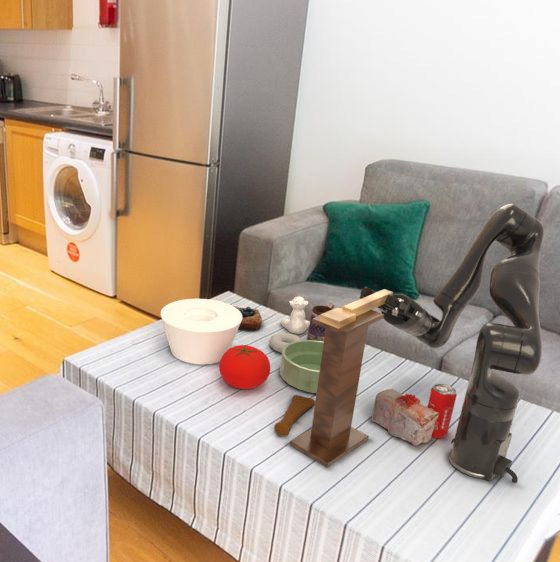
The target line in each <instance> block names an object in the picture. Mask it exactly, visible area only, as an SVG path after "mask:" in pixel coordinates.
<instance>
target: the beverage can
mask: <svg viewBox="0 0 560 562" xmlns="http://www.w3.org/2000/svg"><path fill="white" fill-rule="evenodd" d="M456 399H457V390H456V389H455V388H454V387H453V386H452V385H451V386H450V385H449V384H444V383H436V384H433V386H432V388H431V390H430V395H429V398H428V403H427V407H428V408H430V409H431V410H433V411H435V412H438V413H439V417H438V419H437V421H436V422H435V426H434V429H433V433H432V437H431V438H433V439H438V440H439V439H444V438H445V436H446V435H447V434H448V432H449V428H450V424H451V419H452V416H453V412H454V407H455V404H456Z"/></svg>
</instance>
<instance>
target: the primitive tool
mask: <svg viewBox="0 0 560 562" xmlns="http://www.w3.org/2000/svg"><path fill="white" fill-rule="evenodd" d="M315 401H316V400H314V398H311V397H304V396H301V395H297V394H295V395H293V397H292V400H291V403H290V405H289V406H288V408H287V410H285V412H284V415H283V417H282V419H281V420H280V421H277V422H276V423H275V424H274V427H273V429H274V432H275V433H276V434H277V435H278V436H280V437H286V436H288V435H289V433H290V428H291V426H292V425H293V424H294V423H296V421H297V419H299V418H300V416H302V415H303V414H304V413H306V411H307V410H308V409H310V408H311V407H313V406H315Z"/></svg>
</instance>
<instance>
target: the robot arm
mask: <svg viewBox="0 0 560 562" xmlns="http://www.w3.org/2000/svg"><path fill="white" fill-rule="evenodd" d="M544 235H545V227H544V224H543V223H542V222H541V220H539V219H538V218H536V217H535V216H534V215H532V214H530V213H529V212H527V211H526V210H524V209H523V208H521V207H520V206H518V205H517V204H514V203H508V204H504V205H502V206H501V207H499V208H498V209H497V210H496V211H495V212H493V214H491V215H490V217H489V218H488V219H487V221H486V222H485V223H484V225H483V226H482V228H481V230H480V231H479V233H478V235H477V236H476V238H475V240H474V241H473V243H472V244H471V246H470V248H469V250H468V251H467V253H466V254H465V256H464V258H463V260H462V261H461V262H460V265H459V266H458V267H457V269H456V270H455V272H453V274H452V276H451V277H450V278H449V279H448V280H447V282H446V283H445V285H443V287H442V288H440V290H439V291H438V292H437V294H436V295H435V297H434V298H433V304H434V305H435V306H436V307H437V308H438V309H439V310H440V311H441V313H442V316H441V320H440V319H439V318H437V317H436V316H434V315H432V314H431V313H429V312H428V311H427V310H426V309H425V308H424V307H422V306H421V304H420V303H418V302H417V301H415V300H414V299H413V298H411V297H410V296H408V295H406V294H403V293H393V295H390V294H389V295H388V296H387V298H386V300H385V304H383V305H381V306H379V307H377V308H376V309H378V310H379V311H380V313H382V314H384V318H383V320H384V321H385V322H386V323H388V324H390V325H391V326H393V327H395V328H396V329H398V330H400V331H402V332H405V333H407V334H409V335H411V336H413V337H414V338H415V339H417V340H419V341H420V342H421V343H423V345H426V346H427V347H429V348H430V349H439V348H441V347H443V346H444V345H446V343H448V341H449V339H450V337H451V336H452V333H453V330H454V328H455V326H456V323H457V322H458V320H459V318H460V316H461V315H462V313H463V312H464V310H465V309H466V308H467V307H468V305H469V304H470V303H471V302H472V301H473V299H474V298H475V297H476V296H477V294H478V293H479V290H480V288H481V286H482V282H483V276H484V269H485V263H486V259H487V256H488V252H489V250H490V248H491V247H492V245H493V244H494V243H495V242H496V243H498V244H500V245H501V246H503V247H504V248H505V249H507V250H508V251H509V252H510V254H511V255H510V256H508V257H505V258H503V259H502V260H500V261H499V262H497V263H496V264H495V266H494V267H493V268H492V270H491V273H490V280H489V295H490V298H491V300H492V302H493V304H494V305H495V306H496V307H497V309H498V310H500V312H501V313H502V314H503V315H504V316H505V317H506V318H507V319H508V320H509V321H510V323H512V324H513V325H509V324H502V323H496V322H486V323H484V324H483V325H482V327H481V328H480V330H479V332H478V335H477V341H476V346H475V351H474V357H473V361H472V367H471V371H470V376H469V380H468V383H467V387H466V391H465V395H464V397H463V398H464V399H463V403H462V406H461V410H460V414H459V419H458V422H457V426H456V431H455V434H454V438H452V439H451V441H450V445H451V444H452V447H451V450H450V454H449V462H450V464H451V465H452V466H453V468H455V469H456V470H458V471H459V472H460V473H463V474H465V475H467V476H469V477H472V478H477V479H481V480H482V479H483V480H486V481H487V482H491V481H493V479H494V478H496V477H497V476H498V477H500V478H502V477H504V476H505V475H506V474H508V475H509V476H511V482H512V483H513V484H517V483H518V480H519V478H518V475H517V473H516V472H514V471H513V469H511V466H512V463H513V460H511V459H509V458H507V454H508V451H509V447H510V443H511V440H512V436H513V433H512V432H510V431H511V429H512V424H513V422H514V418H515V415H516V412H517V407H518V404H519V401H520V396H521V393H520V390H519V388H518V387H517V386H516V385H515V384H514V383H513V382H511V381H510V380H507V379H506V378H504V377H502V376H501V375H499V374H497V372H494V370H495V371H499V372H503V373H504V372H505V373H508V374H509V373H510V374H513V375H520V376H530V375H533V374H534V373H536V371H538V369H539V367H540V365H541V362H542V357H543V339H542V329H541V322H540V321H541V320H540V313H539V306H540V291H541V290H540V289H541V287H540V285H541V282H540V281H541V279H540V263H541V261H540V260H541V252H542V247H543V241H544ZM376 292H377V291H374V290H373V289H371V288H370V287H368V286H363V287H362V288H361V291H360V293H359V294H360V296H359V299H362V298H364V297H367V296H369V295H371V294H374V293H376Z"/></svg>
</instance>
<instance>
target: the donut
mask: <svg viewBox="0 0 560 562" xmlns="http://www.w3.org/2000/svg"><path fill="white" fill-rule="evenodd" d="M299 340H302V338H301V337H299V336H298V335H297V334H294V333H288V332H280V333H276V334H274V335H272V336H271V337H270V338H269V345H270V347H271V348H272V349H273V350H274V351H275V352H278V353H280V354H282V349H283V347H284V346H285V345H286V344H289V343H291V342H294V341H299Z"/></svg>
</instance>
